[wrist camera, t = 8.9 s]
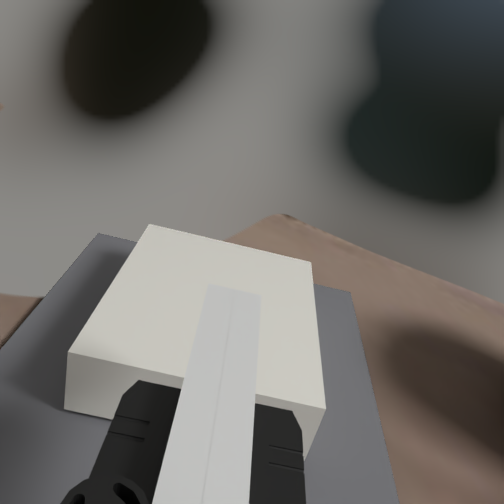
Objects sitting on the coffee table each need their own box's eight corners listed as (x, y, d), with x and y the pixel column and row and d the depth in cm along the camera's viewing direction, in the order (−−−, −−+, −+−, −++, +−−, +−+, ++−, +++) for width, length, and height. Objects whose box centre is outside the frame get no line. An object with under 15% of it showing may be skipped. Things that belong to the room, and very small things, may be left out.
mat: (435, 694, 14) (442, 686, 14) (-179, 575, 13) (-182, 565, 13) (348, 298, 34) (350, 292, 34) (97, 239, 33) (98, 233, 33)
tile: (326, 409, 18) (310, 262, 29) (67, 351, 18) (149, 223, 28) (302, 465, 20) (296, 305, 30) (63, 413, 19) (142, 269, 30)
